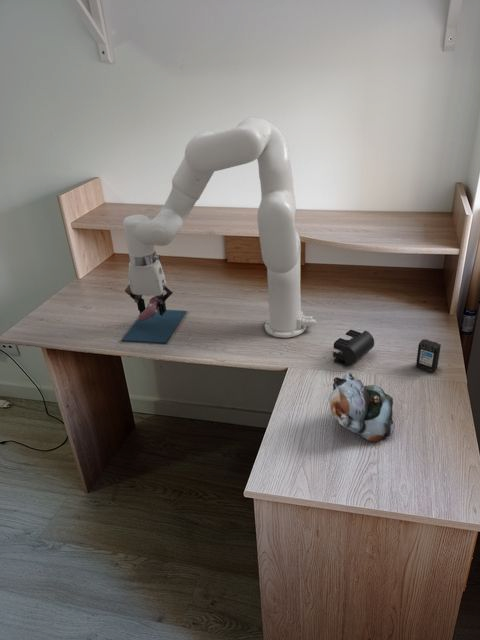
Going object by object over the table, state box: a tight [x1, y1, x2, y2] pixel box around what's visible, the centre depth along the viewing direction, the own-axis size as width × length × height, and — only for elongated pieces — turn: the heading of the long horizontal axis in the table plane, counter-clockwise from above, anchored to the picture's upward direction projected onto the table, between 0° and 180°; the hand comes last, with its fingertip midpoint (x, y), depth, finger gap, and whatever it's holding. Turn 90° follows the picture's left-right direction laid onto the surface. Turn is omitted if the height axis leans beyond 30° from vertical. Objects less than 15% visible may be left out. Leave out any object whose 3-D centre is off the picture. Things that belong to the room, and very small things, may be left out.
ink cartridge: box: [415, 338, 442, 374], centre depth 134 cm, size 5×2×8 cm, turn 51°
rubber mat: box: [121, 309, 187, 345], centre depth 163 cm, size 14×20×1 cm
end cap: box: [332, 329, 375, 367], centre depth 140 cm, size 10×7×7 cm
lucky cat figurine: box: [328, 372, 395, 443], centre depth 115 cm, size 15×12×14 cm
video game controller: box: [138, 296, 159, 321], centre depth 159 cm, size 10×5×7 cm, turn 168°
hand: (152, 312), depth 161 cm, fingers closed on video game controller, 5 cm apart
